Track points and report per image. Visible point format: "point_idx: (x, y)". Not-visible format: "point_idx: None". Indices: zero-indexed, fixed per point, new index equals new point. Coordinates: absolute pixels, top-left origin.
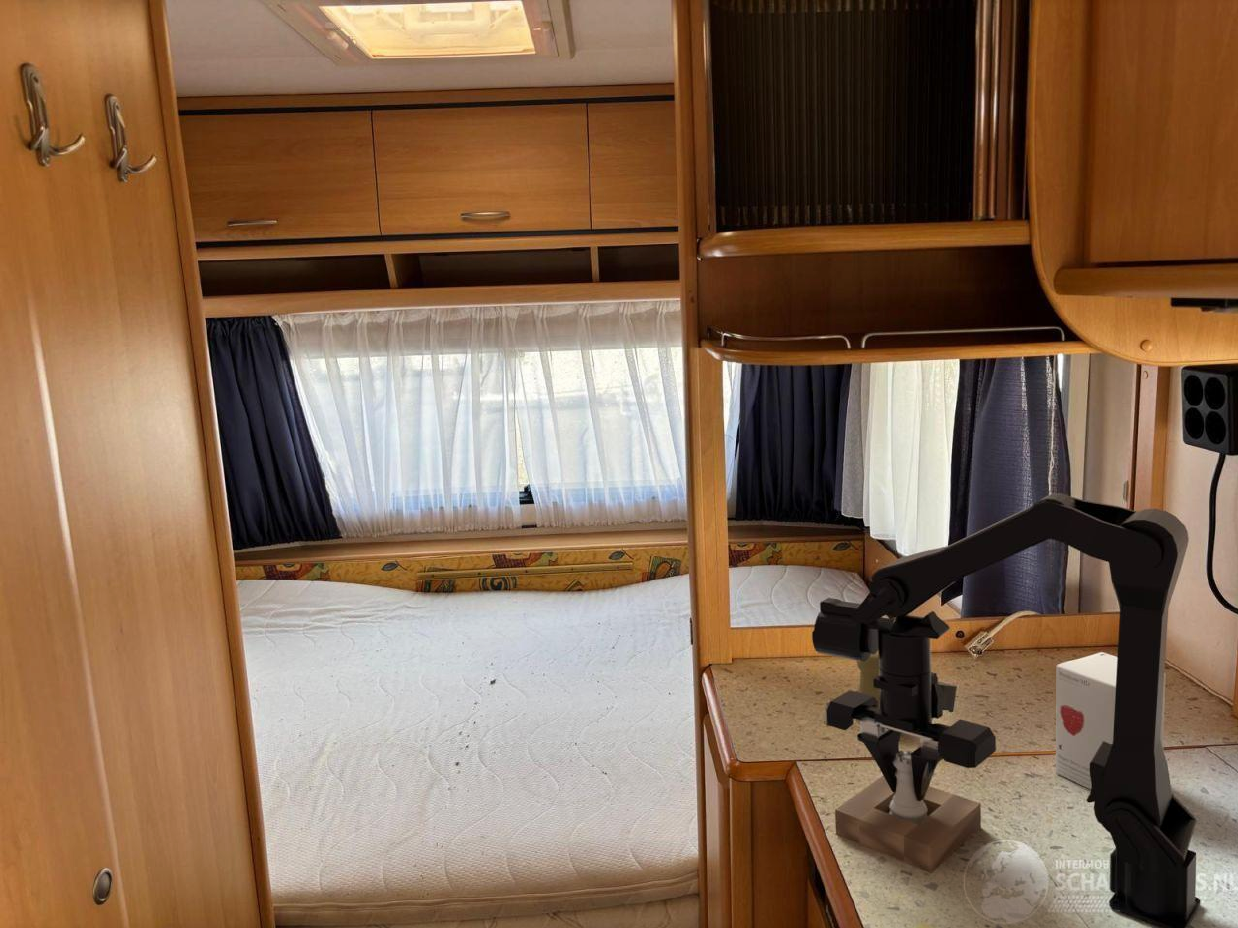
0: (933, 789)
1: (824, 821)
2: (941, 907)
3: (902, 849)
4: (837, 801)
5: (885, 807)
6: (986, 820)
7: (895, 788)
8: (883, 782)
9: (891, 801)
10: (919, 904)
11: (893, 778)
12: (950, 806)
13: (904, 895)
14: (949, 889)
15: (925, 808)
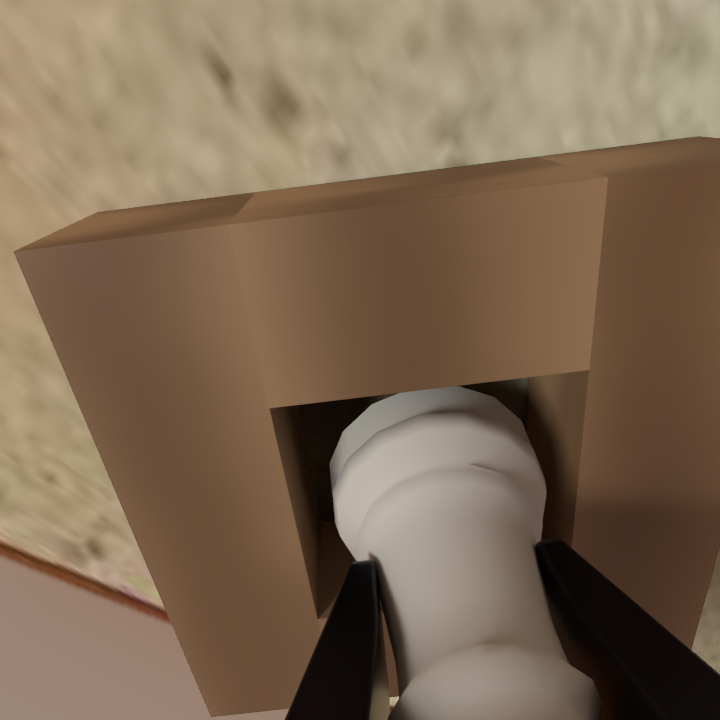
0: (443, 227)
1: (137, 588)
2: (713, 652)
3: None
4: (20, 457)
5: (300, 495)
6: (707, 24)
7: (382, 621)
8: (134, 399)
9: (351, 548)
10: None
11: (386, 714)
12: (645, 347)
13: None
14: (709, 588)
15: (540, 485)
